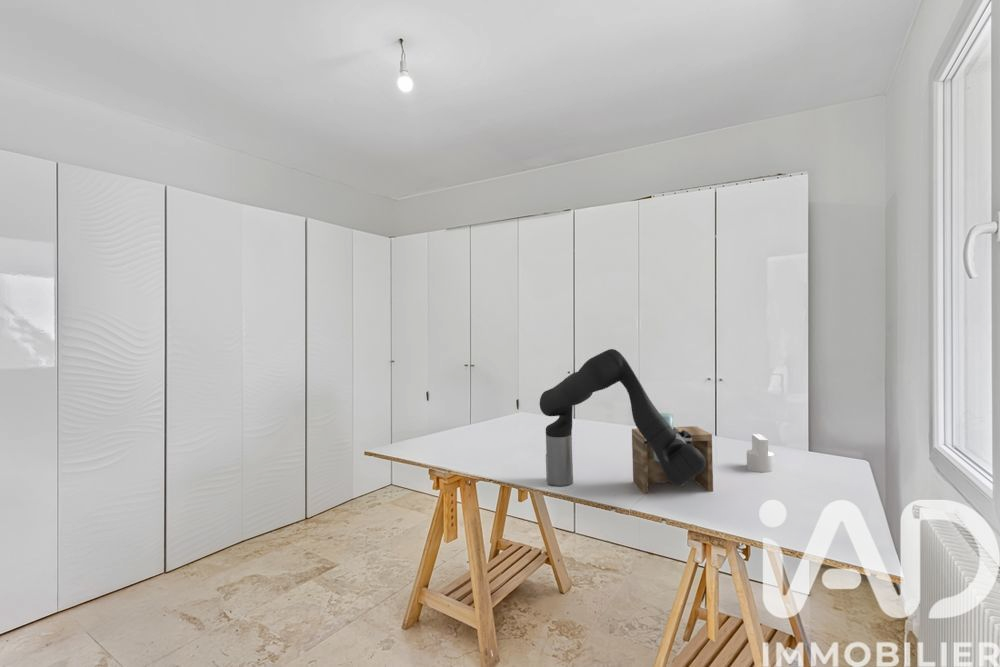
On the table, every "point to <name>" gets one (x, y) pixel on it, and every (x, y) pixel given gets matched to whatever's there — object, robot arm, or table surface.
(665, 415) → the tumbler
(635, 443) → the open wooden box
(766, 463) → the base with upright slab
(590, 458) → the table surface
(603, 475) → the table surface
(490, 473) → the table surface
